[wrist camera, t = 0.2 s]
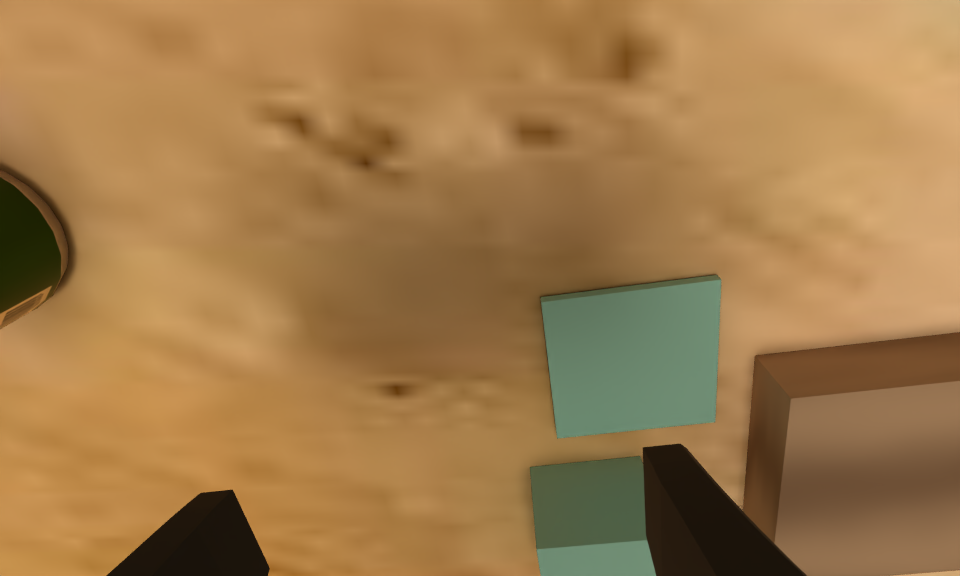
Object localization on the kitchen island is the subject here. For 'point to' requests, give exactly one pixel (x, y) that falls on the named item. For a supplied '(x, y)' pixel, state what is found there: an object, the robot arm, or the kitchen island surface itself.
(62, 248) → the beer can
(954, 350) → the walnut block
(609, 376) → the teal square tile
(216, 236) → the kitchen island surface
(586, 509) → the teal block
